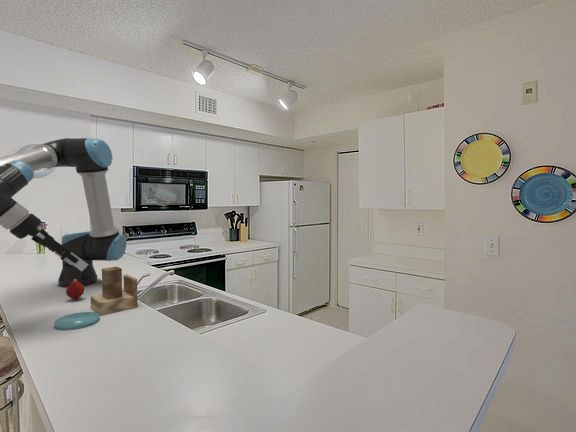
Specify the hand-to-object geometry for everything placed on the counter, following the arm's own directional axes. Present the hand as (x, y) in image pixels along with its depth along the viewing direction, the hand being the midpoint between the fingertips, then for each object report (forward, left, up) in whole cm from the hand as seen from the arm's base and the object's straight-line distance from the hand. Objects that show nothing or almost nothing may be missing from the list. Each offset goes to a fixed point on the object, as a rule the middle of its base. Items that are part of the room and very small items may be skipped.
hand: (79, 264), depth 109 cm
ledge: (-6, +8, -17) cm, 20 cm away
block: (-6, +8, -13) cm, 16 cm away
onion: (-18, -9, -17) cm, 26 cm away
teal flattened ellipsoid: (+7, +2, -17) cm, 18 cm away
